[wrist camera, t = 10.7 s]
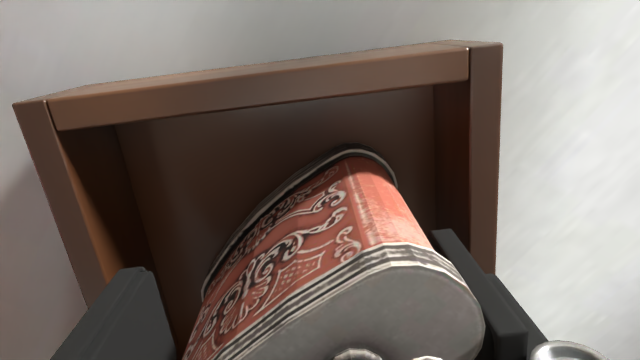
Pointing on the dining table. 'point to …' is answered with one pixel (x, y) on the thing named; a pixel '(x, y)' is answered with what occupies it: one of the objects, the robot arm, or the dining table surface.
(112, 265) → the holder
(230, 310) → the lighter
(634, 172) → the dining table surface
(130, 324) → the robot arm
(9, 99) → the dining table surface
